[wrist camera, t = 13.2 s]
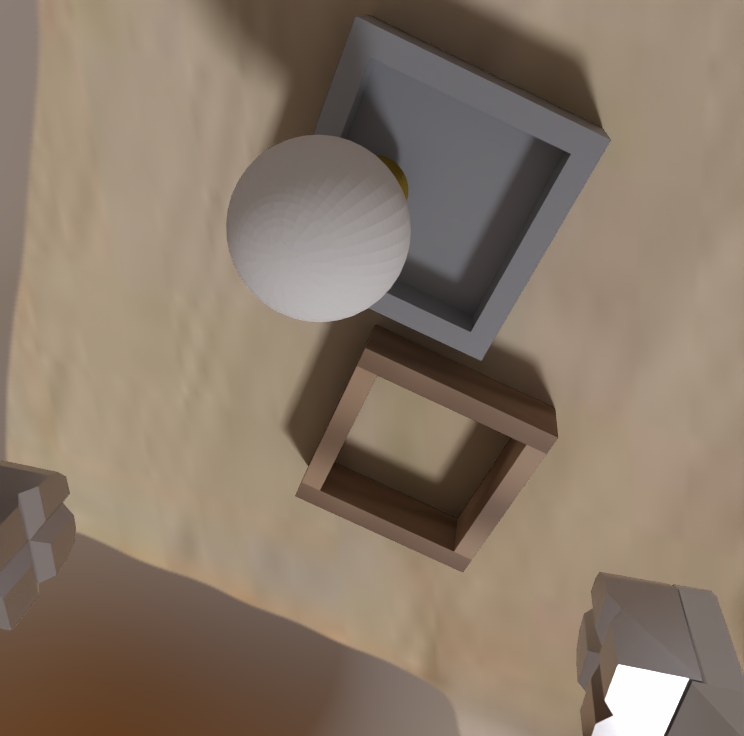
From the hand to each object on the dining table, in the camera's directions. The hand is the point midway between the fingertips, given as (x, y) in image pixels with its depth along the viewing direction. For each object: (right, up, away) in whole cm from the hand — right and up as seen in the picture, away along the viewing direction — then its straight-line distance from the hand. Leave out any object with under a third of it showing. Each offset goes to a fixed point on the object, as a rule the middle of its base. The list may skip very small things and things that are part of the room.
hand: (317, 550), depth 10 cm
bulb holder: (+3, -1, +24) cm, 25 cm away
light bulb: (+1, +10, +18) cm, 21 cm away
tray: (+3, +10, +19) cm, 21 cm away
